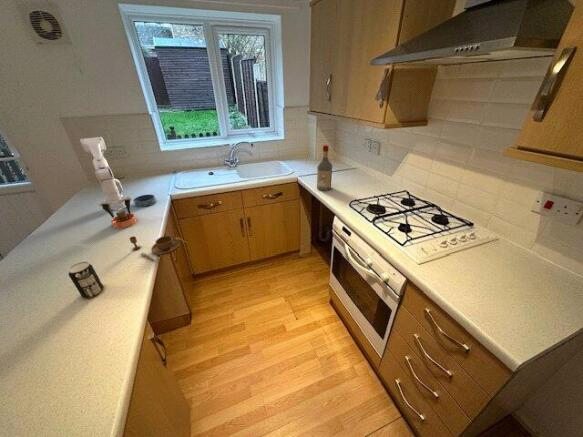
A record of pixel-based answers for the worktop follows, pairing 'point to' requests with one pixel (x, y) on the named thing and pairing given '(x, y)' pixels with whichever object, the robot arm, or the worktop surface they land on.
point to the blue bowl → (144, 200)
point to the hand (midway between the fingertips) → (121, 214)
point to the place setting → (161, 245)
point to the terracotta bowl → (121, 225)
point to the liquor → (324, 172)
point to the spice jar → (122, 216)
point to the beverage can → (85, 279)
